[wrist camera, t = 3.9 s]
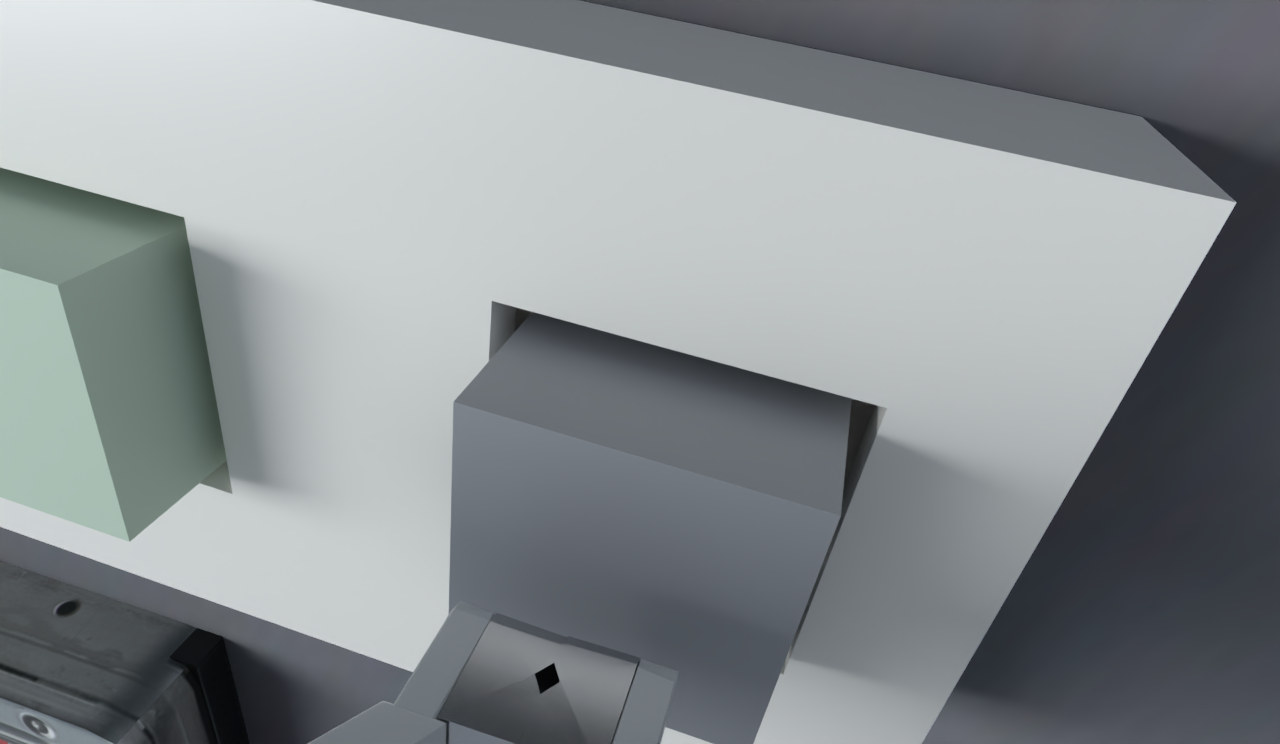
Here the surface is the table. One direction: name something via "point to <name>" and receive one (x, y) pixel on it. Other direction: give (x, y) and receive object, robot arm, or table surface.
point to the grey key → (647, 508)
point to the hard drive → (107, 671)
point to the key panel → (611, 289)
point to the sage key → (100, 358)
